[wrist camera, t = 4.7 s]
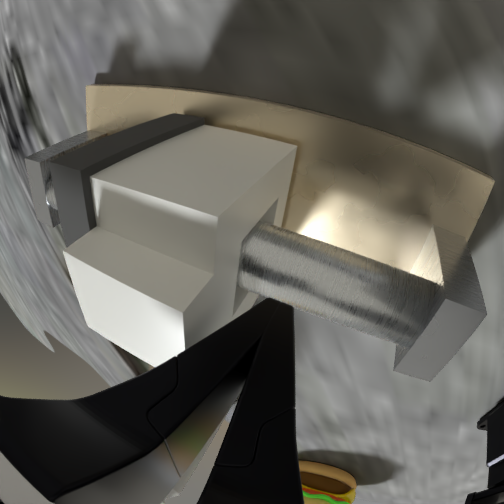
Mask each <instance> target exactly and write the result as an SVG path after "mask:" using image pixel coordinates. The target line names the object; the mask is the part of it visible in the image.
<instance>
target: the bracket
mask: <svg viewBox="0 0 504 504" xmlns="http://www.w3.org/2000/svg"><path fill="white" fill-rule="evenodd" d="M296 151H297V146H296V145H292V144H288V143H284V142H281V141H277V140H273V139H268V138H264V137H260V136H256V135H251V134H247V133H243V132H238V131H233V130H229V129H224V128H219V127H214V126H208V125H202V126H200V127H197V128H195V129H192V130H190V131H187V132H185V133H182V134H180V135H177V136H175V137H172V138H170V139H168V140H165V141H163V142H161V143H158V144H156V145H154V146H152V147H149V148H147V149H145V150H143V151H141V152H138V153H136V154H134V155H132V156H130V157H128V158H126V159H124V160H122V161H119V162H117V163H115V164H113V165H111V166H109V167H107V168H105V169H103V170H101V171H100V172H98V173H96V174H94V175H92V176H90V183H91V191H92V198H93V205H94V212H95V218H96V224H97V226H96V227H95V228H93V229H92V230H90V231H89V232H88V233H86V234H85V235H84V236H82V237H81V238H79V239H78V240H77V241H75V242H74V243H73V244H71V245H70V246H69V247H67V248H66V249H65V250H63V253H64V256H65V260H66V263H67V266H68V270H69V273H70V276H71V279H72V283H73V286H74V289H75V292H76V295H77V298H78V300H79V303H80V306H81V309H82V312H83V314H84V317H85V320H86V322H87V325H88V327H90V328H91V329H93V330H94V331H96V332H97V333H99V334H100V335H102V336H104V337H105V338H107V339H108V340H110V341H112V342H113V343H115V344H116V345H118V346H120V347H121V348H123V349H125V350H126V351H128V352H130V353H131V354H133V355H135V356H136V357H138V358H140V359H142V360H143V361H145V362H147V363H149V364H150V365H152V366H154V367H157V366H158V365H160V364H162V363H164V362H166V361H167V360H169V359H171V358H172V357H174V356H176V357H177V355H178V354H179V353H181V352H182V351H184V350H186V349H187V348H189V347H191V346H192V345H194V344H195V343H197V342H199V341H200V340H202V339H204V338H205V337H207V336H208V335H210V334H212V333H213V332H215V331H216V330H218V329H220V328H221V327H223V326H224V325H226V324H228V323H229V322H231V321H232V320H234V319H235V318H237V317H239V316H240V315H242V314H243V313H245V312H246V311H248V310H249V309H251V308H252V306H253V304H254V303H255V301H256V299H257V298H258V296H259V294H256V293H253V292H251V291H248V290H246V289H243V288H240V287H238V286H236V282H237V274H238V266H239V258H240V250H241V242H242V240H243V239H244V238H245V237H246V235H247V234H248V233H249V232H250V231H251V229H252V228H253V227H254V226H255V225H256V223H257V222H258V221H259V220H260V221H263V222H266V223H270V224H273V225H276V226H279V227H281V226H282V221H283V216H284V211H285V206H286V201H287V196H288V191H289V186H290V181H291V176H292V171H293V166H294V161H295V156H296Z"/></svg>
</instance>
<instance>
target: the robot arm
mask: <svg viewBox="0 0 504 504" xmlns="http://www.w3.org/2000/svg"><path fill="white" fill-rule="evenodd" d="M240 393H241V394H240ZM239 394H240V397H239V399H238V402H237V405H236V408H235V410H234V413H233V416H232V418H231V421H230V424H229V427H228V429H227V432H226V435H225V437H224V440H223V443H222V445H221V448H220V451H219V453H218V456H217V458H216V461H215V463H214V466H213V468H212V471H211V473H210V476H209V479H208V481H207V483H206V485H205V487H204V490H203V492H202V494H201V496H200V498H199V501H198V502H197V504H304V498H303V490H302V483H301V476H300V468H299V461H298V452H297V442H296V409H295V334H294V308H293V306H292V305H289V304H286V303H284V302H281V301H279V300H276V299H273V298H271V297H269V298H266V299H265V300H263V301H262V302H260V303H259V304H257V305H256V306H254V307H253V308H251V309H249V310H248V311H246V312H245V313H243V314H242V315H240V316H239V317H237V318H235V319H234V320H232V321H231V322H229V323H228V324H226V325H224V326H223V327H221V328H220V329H218V330H216V331H215V332H213V333H212V334H210V335H208V336H207V337H205V338H204V339H202V340H200V341H199V342H197V343H195V344H194V345H192V346H191V347H189V348H187V349H186V350H184V351H182V352H181V353H179V354H178V355H177V357H176V356H174V357H172V358H171V359H169V360H167V361H166V362H164V363H162V364H160V365H158V366H157V367H155V368H153V369H151V370H149V371H147V372H145V373H143V374H141V375H139V376H137V377H134V378H132V379H130V380H127V381H125V382H123V383H120V384H118V385H115V386H113V387H111V388H108V389H106V390H103V391H101V392H98V393H96V394H93V395H90V396H87V397H84V398H79V399H74V400H45V399H22V398H9V397H3V396H0V504H161V503H162V502H163V500H164V499H165V498H166V496H167V495H168V494H169V493H170V491H171V490H172V489H173V487H174V486H175V485H176V483H177V482H178V481H179V479H180V477H182V475H183V474H184V473H185V471H186V470H187V469H188V467H189V466H190V465H191V463H192V462H193V460H194V459H195V458H196V456H197V455H198V454H199V452H200V451H201V449H202V448H203V447H204V445H205V444H206V442H207V441H208V440H209V438H210V437H211V435H212V434H213V432H214V431H215V430H216V428H217V427H218V425H219V424H220V422H221V421H222V419H223V418H224V417H225V415H226V414H227V412H228V411H229V409H230V408H231V406H232V405H233V403H234V402H235V400H236V399H237V397H238V396H239ZM477 428H478V429H481V430H486V431H487V462H486V465H487V467H489V476H488V487H487V488H488V489H487V490H484V491H481V492H478V493H476V492H474V493H470V494H468V496H467V498H466V501H465V504H504V401H503V402H502V403H501V404H499V405H498V406H497V407H496V408H495V409H493V410H492V411H491V412H490V413H488V414H487V415H486V416H485V417H483V418H482V419H481V420H479V421H478V422H477Z"/></svg>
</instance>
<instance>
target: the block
mask: <svg viewBox="0 0 504 504" xmlns="http://www.w3.org/2000/svg"><path fill="white" fill-rule="evenodd" d="M204 124H205V118H202V117H196V116H190V115H184V114H177V113H172V114H169V115H166V116H162V117H159V118H156V119H153V120H150V121H147V122H144V123H141V124H139V125H136V126H133V127H130V128H128V129H125V130H122V131H119V132H117V133H114V134H112V135H109V136H107V137H104V138H102V139H99V140H97V141H94V142H92V143H89V144H87V145H85V146H82V147H80V148H78V149H76V150H73V151H71V152H69V153H67V154H65V155H62V156H60V157H58V158H56V159H54V160H52V161H50V162H49V163H50V170H51V176H52V182H53V188H54V193H55V198H56V203H57V208H58V213H59V218H60V222H61V226H62V231H63V235H64V239H65V243H66V247H69V246H70V245H71V244H73V243H74V242H75V241H77V240H78V239H79V238H81V237H82V236H84V235H85V234H86V233H88V232H89V231H90V230H92V229H93V228H95V227H96V226H97V224H96V218H95V212H94V205H93V198H92V191H91V183H90V176H92V175H94V174H96V173H98V172H100V171H101V170H103V169H105V168H107V167H109V166H111V165H113V164H115V163H117V162H119V161H122V160H124V159H126V158H128V157H130V156H132V155H134V154H136V153H138V152H141V151H143V150H145V149H147V148H149V147H152V146H154V145H156V144H158V143H161V142H163V141H165V140H168V139H170V138H172V137H175V136H177V135H180V134H182V133H185V132H187V131H190V130H192V129H195V128H197V127H200V126H202V125H204Z"/></svg>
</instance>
